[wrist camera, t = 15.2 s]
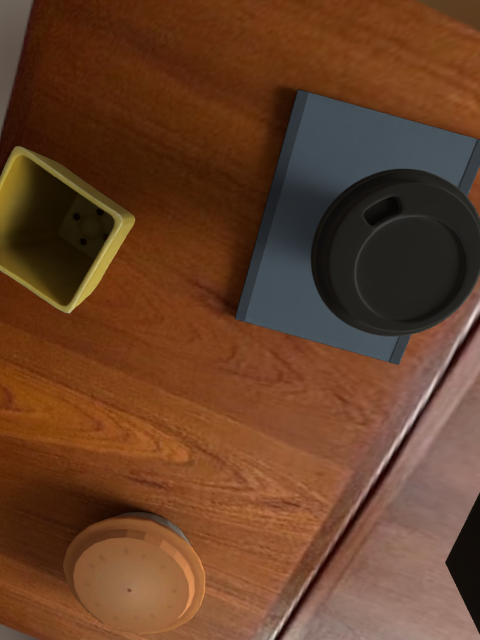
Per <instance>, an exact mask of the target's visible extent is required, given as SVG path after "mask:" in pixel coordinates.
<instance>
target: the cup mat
mask: <svg viewBox="0 0 480 640" xmlns="http://www.w3.org/2000/svg"><path fill="white" fill-rule="evenodd" d="M479 167H480V140H479V139H475V138H472V137H468V136H465V135H461V134H457V133H454V132H450V131H447V130H443V129H439V128H436V127H432V126H429V125H425V124H421V123H418V122H414V121H411V120H407V119H403V118H400V117H396V116H393V115H389V114H385V113H382V112H378V111H375V110H371V109H367V108H364V107H360V106H356V105H353V104H349V103H346V102H342V101H338V100H335V99H331V98H328V97H324V96H320V95H317V94H313V93H310V92H306V91H303V90H299V89H298V90H297V94H296V97H295V101H294V105H293V108H292V112H291V116H290V119H289V123H288V126H287V130H286V134H285V137H284V141H283V145H282V148H281V152H280V156H279V159H278V163H277V167H276V170H275V174H274V177H273V181H272V185H271V188H270V192H269V196H268V199H267V203H266V207H265V210H264V214H263V218H262V221H261V225H260V228H259V232H258V236H257V239H256V243H255V247H254V250H253V254H252V258H251V261H250V265H249V269H248V272H247V276H246V279H245V283H244V287H243V290H242V294H241V298H240V301H239V305H238V309H237V312H236V316H235V319H237V320H240V321H244V322H247V323H251V324H255V325H258V326H262V327H265V328H269V329H272V330H276V331H280V332H283V333H287V334H290V335H294V336H298V337H301V338H305V339H308V340H312V341H315V342H319V343H323V344H326V345H330V346H333V347H337V348H340V349H344V350H348V351H351V352H355V353H358V354H362V355H365V356H369V357H373V358H376V359H380V360H383V361H387V362H390V363H394V364H397V365H399V363H400V361H401V358H402V356H403V354H404V351H405V349H406V346H407V344H408V341H409V339H410V336H411V335H406V336H397V337H386V336H378V335H372V334H369V333H366V332H363V331H360V330H358V329H356V328H353V327H351V326H349V325H348V324H346V323H344V322H343V321H342V320H340V319H339V318H338V317H337V316H335V315H334V314H333V313H332V312H331V311H330V310H329V309H328V307H327V306H326V305H325V303H324V302H323V300H322V299H321V297H320V295H319V293H318V291H317V289H316V286H315V283H314V280H313V276H312V271H311V248H312V242H313V238H314V235H315V232H316V229H317V226H318V224H319V222H320V220H321V218H322V216H323V215H324V213H325V211H326V210H327V209H328V207H329V206H330V205H331V203H332V202H333V201H334V200H335V199H336V198H337V197H338V196H339V195H340V194H341V193H342V192H343V191H344V190H345V189H347V188H348V187H350V186H351V185H352V184H354V183H356V182H357V181H359V180H361V179H363V178H365V177H367V176H369V175H372V174H375V173H378V172H381V171H386V170H392V169H415V170H421V171H425V172H429V173H432V174H434V175H437V176H439V177H441V178H443V179H445V180H447V181H449V182H450V183H452V184H453V185H455V186H456V187H457V188H459V189H460V190H461V191H462V192H463V193H464V194H465V195H466V196H468V194H469V191H470V189H471V186H472V184H473V181H474V179H475V177H476V174H477V172H478V169H479Z"/></svg>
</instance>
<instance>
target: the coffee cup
mask: <svg viewBox="0 0 480 640" xmlns="http://www.w3.org/2000/svg"><path fill="white" fill-rule="evenodd" d="M311 271H312V276H313V280H314V283H315V286H316V289H317V291H318V293H319V295H320V297H321V299H322V300H323V302H324V303H325V305H326V306H327V307H328V309H329V310H330V311H331V312H332V313H333V314H334V315H335V316H337V317H338V318H339V319H340V320H342V321H343V322H344V323H346V324H348V325H349V326H351V327H353V328H356V329H358V330H360V331H363V332H366V333H369V334H372V335H378V336H386V337H397V336H406V335H411V334H416V333H419V332H422V331H425V330H427V329H430V328H432V327H434V326H436V325H437V324H439V323H441V322H442V321H444V320H445V319H447V318H448V317H449V316H451V315H452V314H453V313H454V312H455V311H456V310H457V309H458V308H459V307H460V306H461V305H462V304H463V303H464V302H465V300H466V299H467V298H468V296H469V295H470V293H471V292H472V290H473V288H474V287H475V285H476V283H477V281H478V278H479V276H480V217H479V215H478V213H477V211H476V209H475V207H474V206H473V204H472V203H471V201H470V200H469V199H468V197H467V196H466V195H465V194H464V193H463V192H462V191H461V190H460V189H459V188H457V187H456V186H455V185H453V184H452V183H450V182H449V181H447V180H445V179H443V178H441V177H439V176H437V175H434V174H432V173H429V172H425V171H421V170H415V169H392V170H386V171H381V172H378V173H375V174H372V175H369V176H367V177H365V178H363V179H361V180H359V181H357V182H356V183H354V184H352V185H351V186H350V187H348V188H347V189H345V190H344V191H343V192H342V193H341V194H340V195H339V196H338V197H337V198H336V199H335V200H334V201H333V202H332V203H331V205H330V206H329V207H328V209H327V210H326V211H325V213H324V215H323V216H322V218H321V220H320V222H319V224H318V226H317V229H316V232H315V235H314V238H313V242H312V248H311Z"/></svg>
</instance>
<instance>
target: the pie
mask: <svg viewBox="0 0 480 640" xmlns="http://www.w3.org/2000/svg"><path fill="white" fill-rule="evenodd" d="M63 569H64V573H65V576H66V580H67V583H68V585H69V587H70V589H71V591H72V594H73V596H74V597H75V598H76V600H77V601H78V602H79V603H80V604H81V605H82V606H83V607H84V608H85V609H86V610H87V611H88V612H89V613H90V614H91V615H92V616H94V617H95V618H96V619H97V620H98V621H99V622H101V623H102V624H105V625H107V626H110V627H112V628H115V629H117V630H120V631H124V632H128V633H133V634H149V633H160V632H163V631H167V630H170V629H174V628H176V627H178V626H180V625H182V624H184V623H186V622H188V621H189V620H191V618H192V617H193V616H194V614H195V613H196V611H197V610H198V609H199V607H200V606H201V603H202V599H203V596H204V593H205V572H204V569H203V567H202V564H201V562H200V559H199V557H198V555H197V554H196V553H195V551H194V550H193V549H192V547H191V545H190V543H189V541H188V539H187V538H186V537H185V535H184V534H183V533H182V532H181V530H180V529H179V528H178V527H177V526H175V525H174V524H173V523H171V522H170V521H169V520H167V519H165V518H162V517H160V516H158V515H155V514H151V513H146V512H127V513H124V514H121V515H118V516H115V517H112V518H108V519H105V520H103V521H100V522H97V523H94V524H92V525H90V526H88V527H87V528H86V529H84V530H83V531H82V532H81V533H79V534H78V535H77V536H76V537H75V538H74V540H73V541H72V543H71V544H70V545H69V547H68V548H67V551H66V555H65V559H64V563H63Z"/></svg>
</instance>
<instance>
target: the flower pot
mask: <svg viewBox="0 0 480 640" xmlns="http://www.w3.org/2000/svg"><path fill="white" fill-rule="evenodd" d="M99 209H102V210H103V215H99V214H98V210H99ZM75 214H79V216H80V219H79V220H76V219H75V218H74V215H75ZM134 223H135V217H134V216H133V215H132V214H131V213H130V212H128V211H127V210H125V209H124V208H122V207H121V206H120V205H118V204H117V203H115V202H114V201H112V200H111V199H109V198H108V197H106V196H105V195H103V194H102V193H100V192H99V191H98V190H96V189H95V188H93V187H92V186H91V185H89V184H88V183H86V182H85V181H83V180H82V179H81V178H79V177H78V176H77V175H75V174H74V173H72V172H71V171H70V170H68V169H67V168H65V167H64V166H63V165H61V164H59V163H58V162H56V161H54V160H51V159H49V158H47V157H45V156H42V155H40V154H38V153H35V152H33V151H31V150H28V149H26V148H24V147H20V146H16V147H15V148H14V149H13V151H12V152H11V154H10V156H9V158H8V160H7V163H6V165H5V167H4V169H3V172H2V174H1V176H0V271H2V272H3V273H5V274H7V275H8V276H10V277H11V278H13V279H15V280H16V281H18V282H19V283H21V284H22V285H24V286H25V287H27V288H28V289H29V290H31V291H32V292H34V293H35V294H36V295H38V296H39V297H41V298H42V299H44V300H45V301H47V302H48V303H50V304H51V305H52V306H54V307H55V308H57V309H59V310H61V311H63V312H65V313H70V312H71V311H72V310H73V309H74V308H75V307H76V306H78V305H79V304H80V303H81V302H82V301H83V300H84V299H85V298H86V297H88V296H89V295H90V294H91V293H92V292H93V291H94V289H95V288H96V286H97V285H98V283H99V282H100V280H101V278H102V276H103V275H104V273H105V271H106V269H107V268H108V266H109V264H110V263H111V261H112V259H113V258H114V256H115V254H116V253H117V251H118V249H119V248H120V246H121V244H122V243H123V241H124V239H125V238H126V236H127V234H128V233H129V231H130V230H131V228H132V227H133V225H134ZM105 234H108V235H109V236H108V238H107V240H105V239H104V235H105ZM81 239H86V241H87V243H86V244H85V245H83V244H82V243H81Z"/></svg>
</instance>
